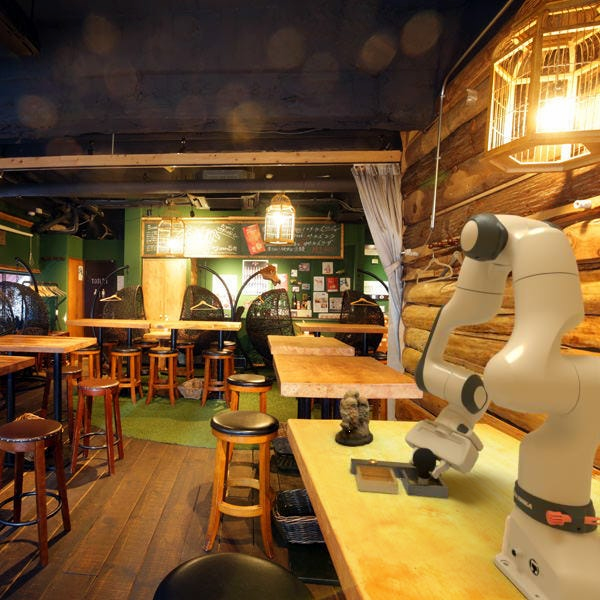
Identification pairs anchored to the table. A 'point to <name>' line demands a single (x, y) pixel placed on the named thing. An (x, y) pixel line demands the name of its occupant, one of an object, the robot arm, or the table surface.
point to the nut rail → (394, 478)
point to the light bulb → (424, 464)
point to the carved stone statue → (354, 420)
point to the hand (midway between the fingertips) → (422, 470)
